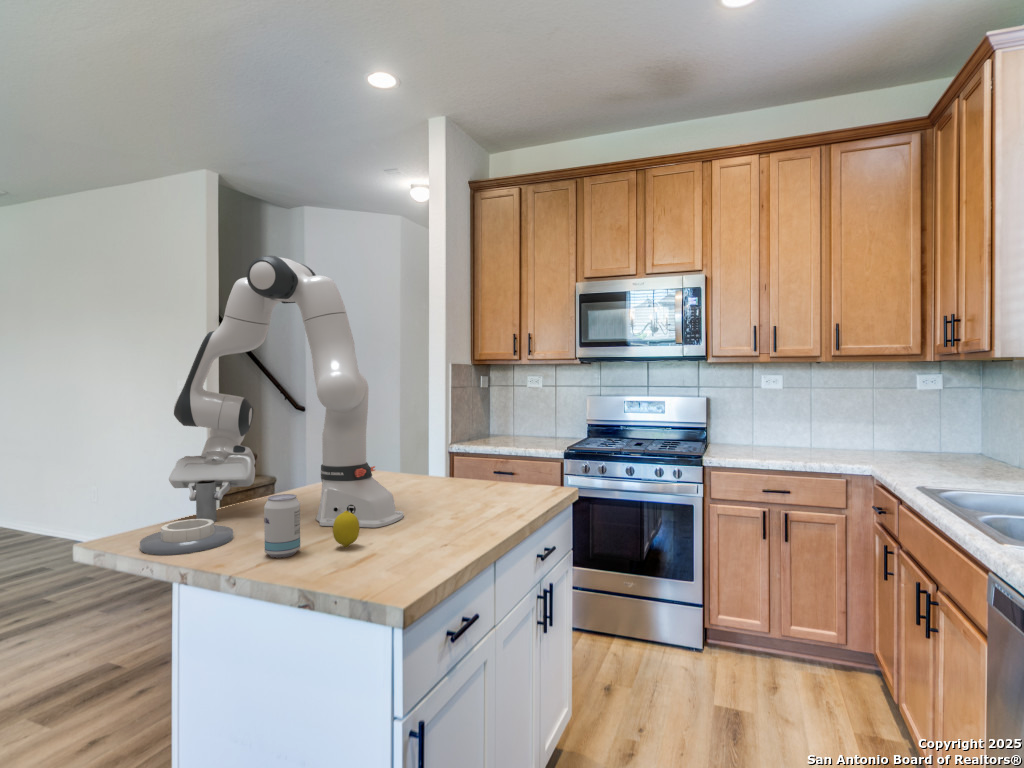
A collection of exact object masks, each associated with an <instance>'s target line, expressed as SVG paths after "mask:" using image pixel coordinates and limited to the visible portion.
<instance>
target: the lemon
mask: <svg viewBox="0 0 1024 768" xmlns="http://www.w3.org/2000/svg"><path fill="white" fill-rule="evenodd" d="M332 535H333V538H334V540H335V541H336V543H338V545H341V546H343V547H344V548H348V547H350V545H352V544H354V543H355V542H356V541H357V539H358V538H359V535H360V527H359V522H358V519H357V517H356V516H355V515H354V514H352V513H350V512H348V511H344V513H341V514H340V515H338V516H337V518H336V519H335V521H334V525H333V526H332Z"/></svg>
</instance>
